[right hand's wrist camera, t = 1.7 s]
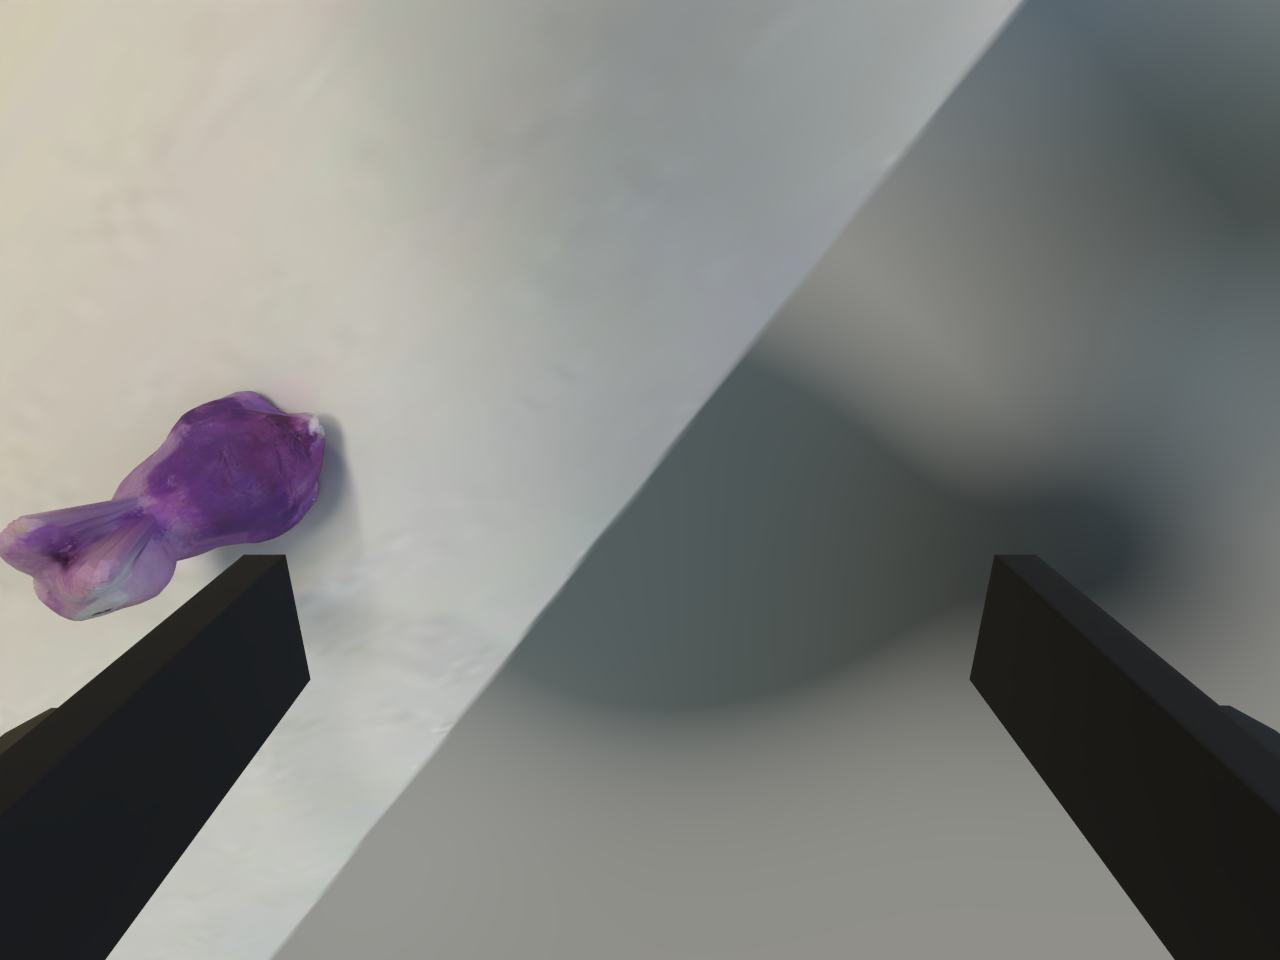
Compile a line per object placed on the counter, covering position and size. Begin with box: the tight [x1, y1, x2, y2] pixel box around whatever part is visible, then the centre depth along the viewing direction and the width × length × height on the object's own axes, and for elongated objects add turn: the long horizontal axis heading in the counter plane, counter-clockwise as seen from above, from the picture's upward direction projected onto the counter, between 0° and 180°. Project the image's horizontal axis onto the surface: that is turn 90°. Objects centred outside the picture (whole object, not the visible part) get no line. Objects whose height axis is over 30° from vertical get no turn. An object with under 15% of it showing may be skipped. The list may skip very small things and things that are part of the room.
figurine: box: [0, 391, 325, 621], centre depth 34 cm, size 9×10×15 cm
